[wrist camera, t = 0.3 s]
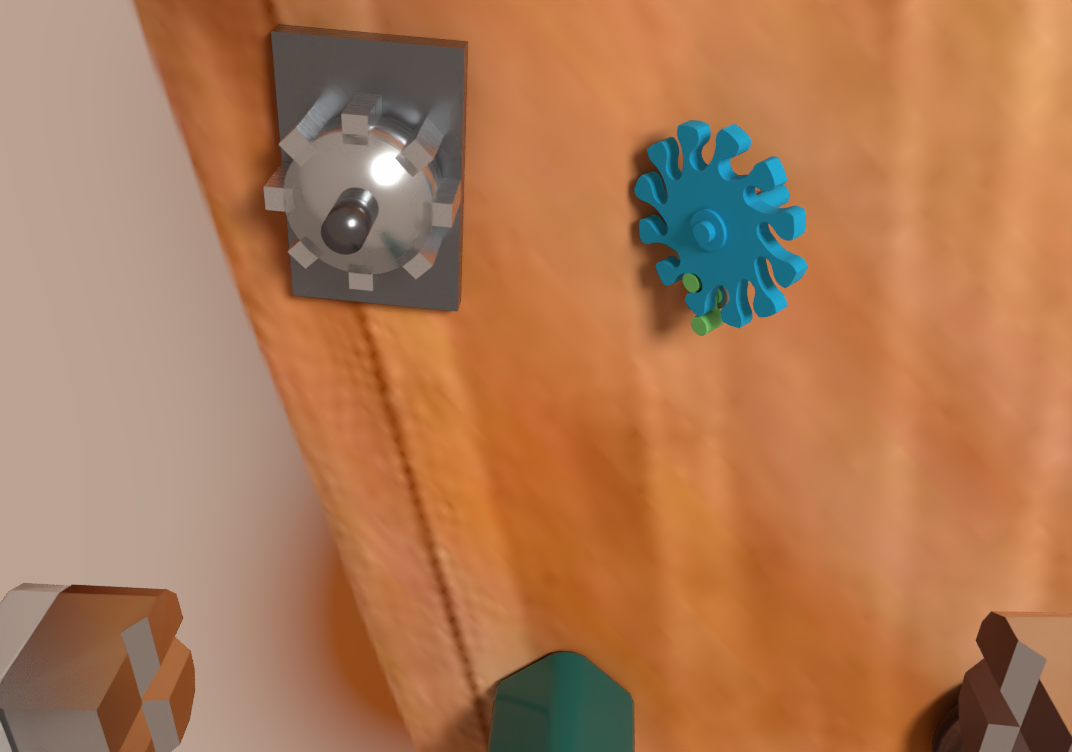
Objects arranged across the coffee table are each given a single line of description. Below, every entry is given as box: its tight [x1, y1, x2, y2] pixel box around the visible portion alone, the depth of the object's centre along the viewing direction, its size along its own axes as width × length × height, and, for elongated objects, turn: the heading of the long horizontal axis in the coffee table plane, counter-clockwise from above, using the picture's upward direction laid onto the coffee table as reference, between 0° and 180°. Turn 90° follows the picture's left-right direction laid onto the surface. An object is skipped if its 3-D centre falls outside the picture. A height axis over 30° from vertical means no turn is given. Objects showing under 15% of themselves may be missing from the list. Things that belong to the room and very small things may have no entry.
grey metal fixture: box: [263, 25, 468, 311], centre depth 47 cm, size 14×9×7 cm, turn 176°
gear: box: [634, 120, 808, 336], centre depth 47 cm, size 11×6×10 cm
